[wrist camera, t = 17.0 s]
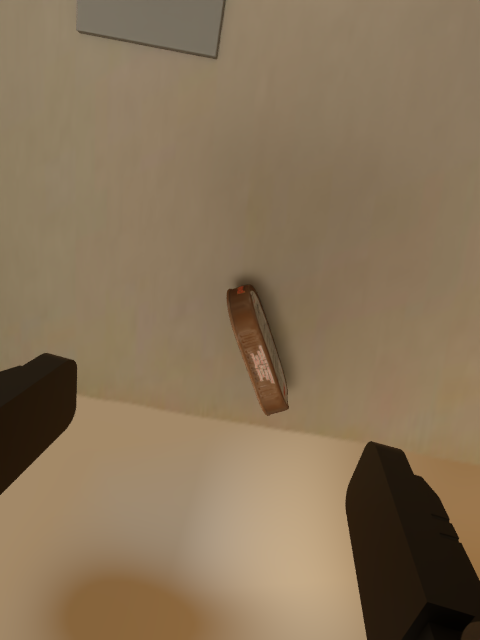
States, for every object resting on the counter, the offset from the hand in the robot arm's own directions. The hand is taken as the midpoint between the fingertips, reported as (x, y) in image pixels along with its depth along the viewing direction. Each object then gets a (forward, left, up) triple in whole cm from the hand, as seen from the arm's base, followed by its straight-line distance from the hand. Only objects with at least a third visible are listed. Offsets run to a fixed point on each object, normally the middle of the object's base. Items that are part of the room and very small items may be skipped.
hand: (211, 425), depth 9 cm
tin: (+6, +8, -30) cm, 32 cm away
